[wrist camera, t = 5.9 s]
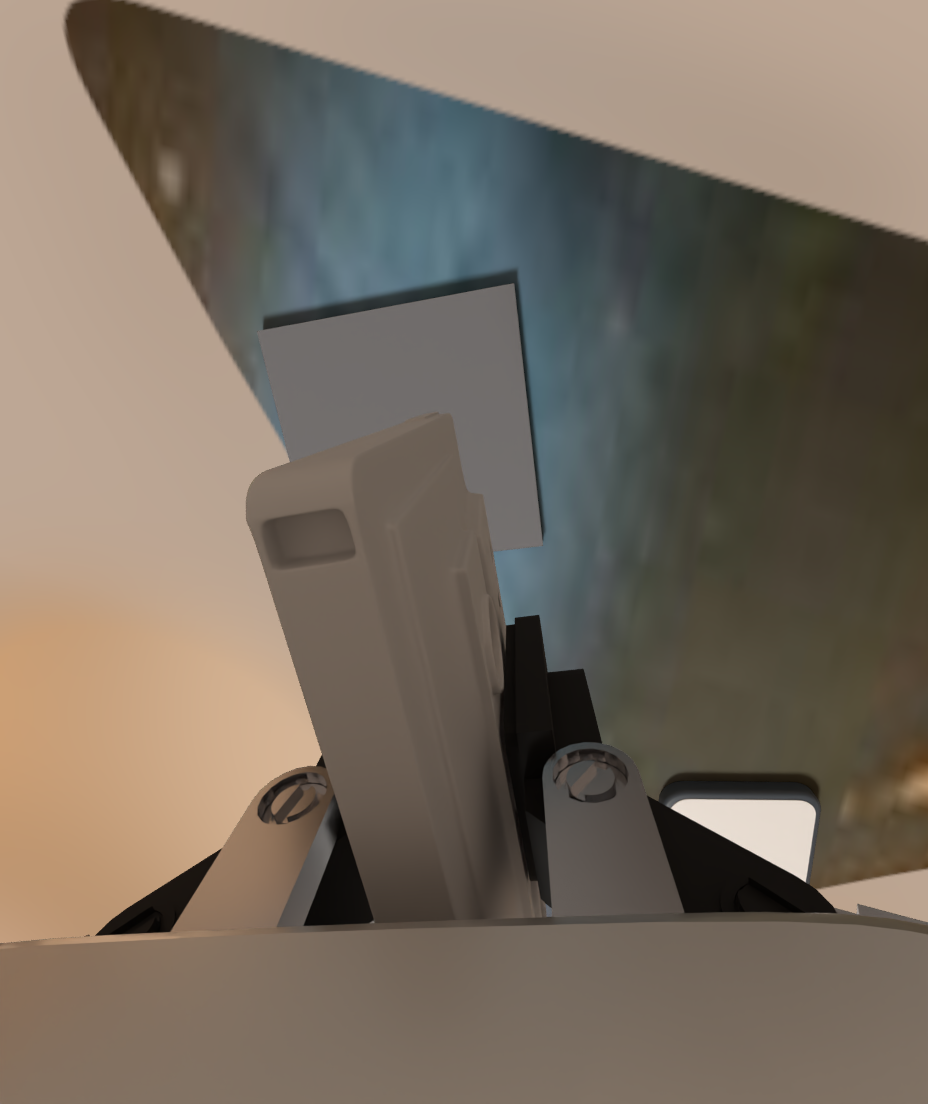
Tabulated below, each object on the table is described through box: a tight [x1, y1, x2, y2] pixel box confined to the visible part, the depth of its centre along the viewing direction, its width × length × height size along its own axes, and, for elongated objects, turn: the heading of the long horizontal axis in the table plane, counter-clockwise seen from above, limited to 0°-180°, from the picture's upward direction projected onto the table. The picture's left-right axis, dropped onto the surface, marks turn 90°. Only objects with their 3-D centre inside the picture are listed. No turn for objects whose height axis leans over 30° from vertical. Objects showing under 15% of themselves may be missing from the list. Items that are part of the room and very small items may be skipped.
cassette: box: [246, 412, 546, 923], centre depth 9 cm, size 12×2×8 cm, turn 10°
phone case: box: [659, 781, 821, 884], centre depth 32 cm, size 9×2×16 cm
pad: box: [257, 283, 543, 551], centre depth 25 cm, size 12×12×1 cm
